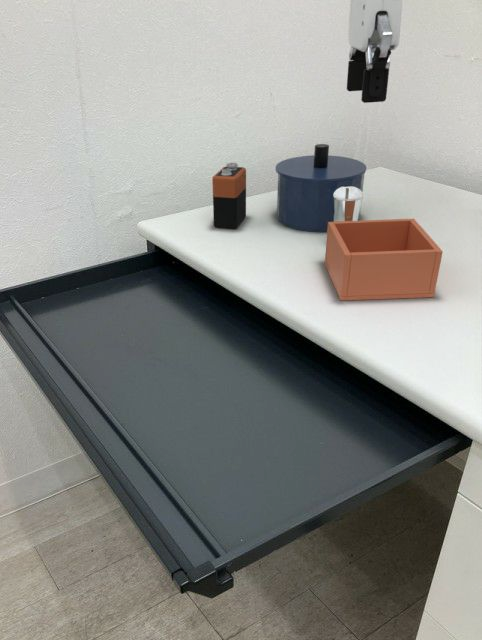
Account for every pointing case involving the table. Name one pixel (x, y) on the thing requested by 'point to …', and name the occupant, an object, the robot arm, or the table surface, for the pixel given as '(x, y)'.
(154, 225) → the table surface
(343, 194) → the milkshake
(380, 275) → the bin
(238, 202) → the battery
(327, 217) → the pot
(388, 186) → the table surface
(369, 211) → the table surface
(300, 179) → the pot lid
